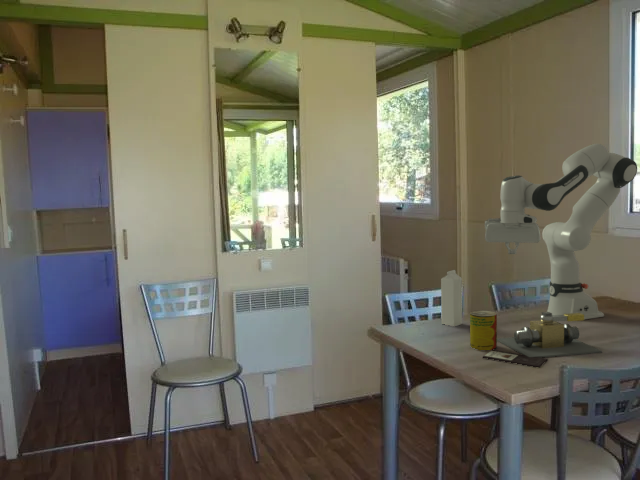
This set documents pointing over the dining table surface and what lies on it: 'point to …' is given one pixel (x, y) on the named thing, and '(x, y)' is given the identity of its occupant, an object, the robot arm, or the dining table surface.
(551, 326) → the valve body
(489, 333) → the yellow tin can
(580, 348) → the mat
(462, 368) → the dining table surface
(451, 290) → the milk
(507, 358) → the chocolate bar
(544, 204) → the robot arm
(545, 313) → the lever
